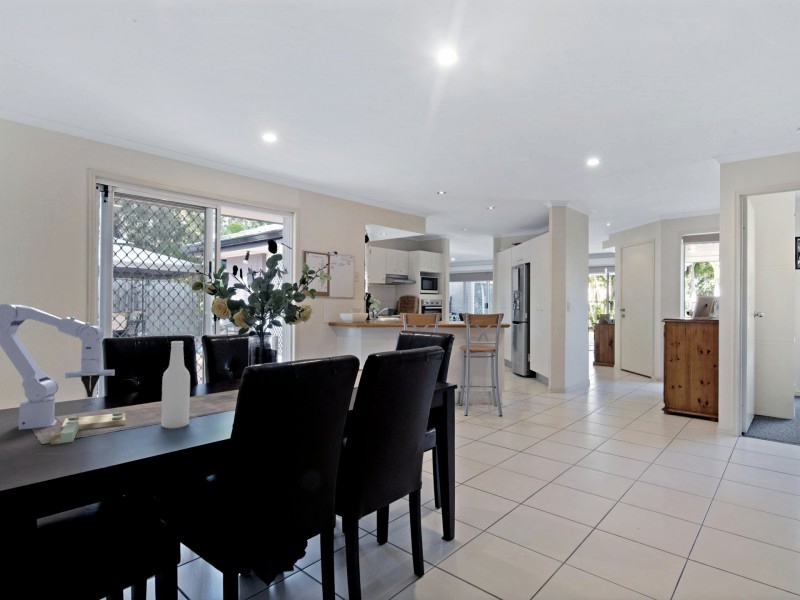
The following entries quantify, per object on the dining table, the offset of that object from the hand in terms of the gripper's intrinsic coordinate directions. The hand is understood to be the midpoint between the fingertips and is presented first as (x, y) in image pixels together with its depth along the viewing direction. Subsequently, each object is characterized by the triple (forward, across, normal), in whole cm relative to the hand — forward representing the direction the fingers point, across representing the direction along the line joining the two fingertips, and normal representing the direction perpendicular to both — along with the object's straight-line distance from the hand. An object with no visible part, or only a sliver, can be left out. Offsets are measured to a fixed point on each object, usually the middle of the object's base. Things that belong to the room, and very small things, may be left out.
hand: (89, 396), depth 156 cm
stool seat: (+9, +1, -11) cm, 15 cm away
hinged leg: (+9, -4, -18) cm, 20 cm away
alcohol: (+10, +26, -19) cm, 34 cm away
